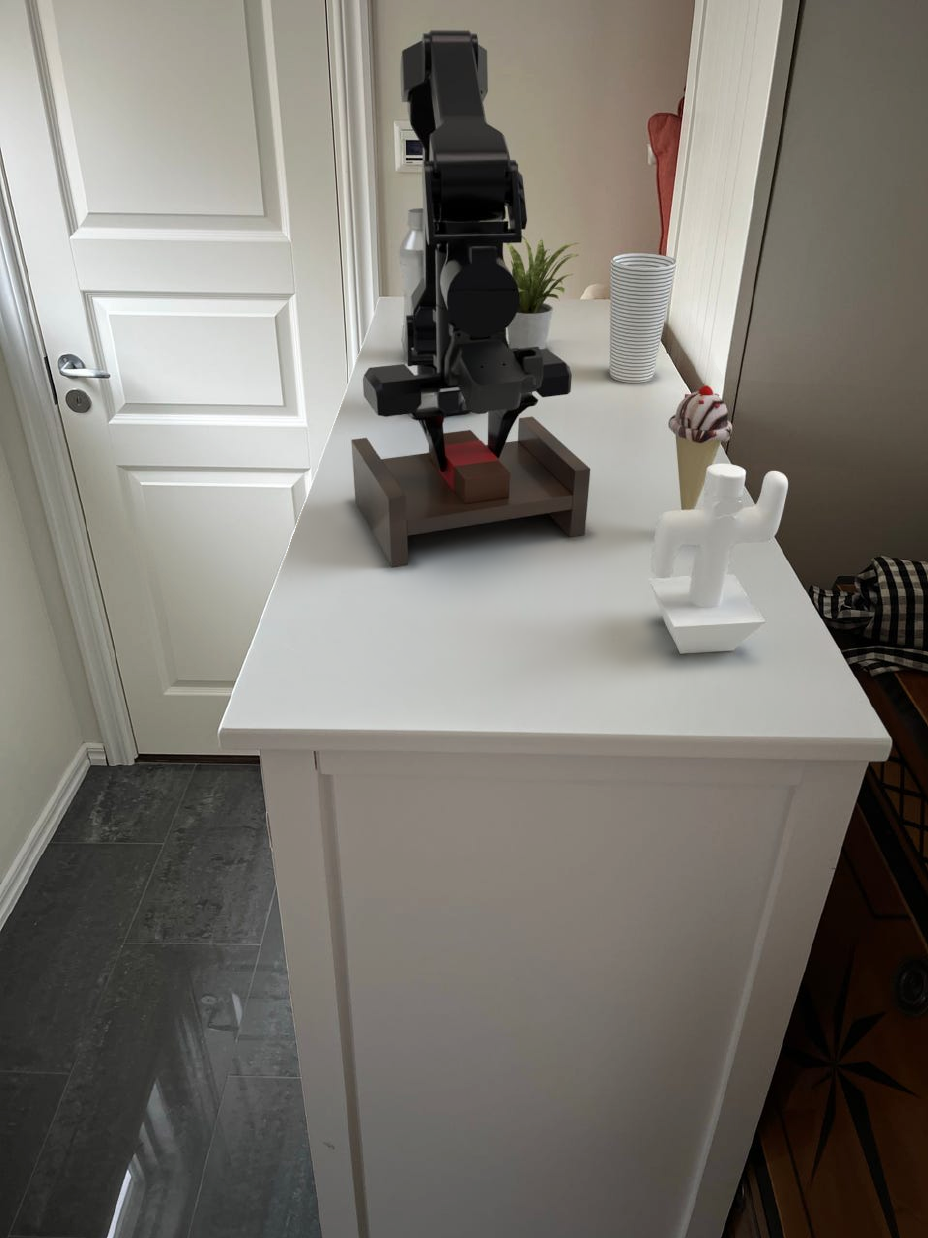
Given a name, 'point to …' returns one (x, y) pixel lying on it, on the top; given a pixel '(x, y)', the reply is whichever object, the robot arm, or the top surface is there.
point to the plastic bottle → (411, 261)
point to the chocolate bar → (473, 468)
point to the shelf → (424, 501)
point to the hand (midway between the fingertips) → (467, 466)
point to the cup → (638, 313)
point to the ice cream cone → (698, 440)
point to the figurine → (713, 560)
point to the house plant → (533, 296)
